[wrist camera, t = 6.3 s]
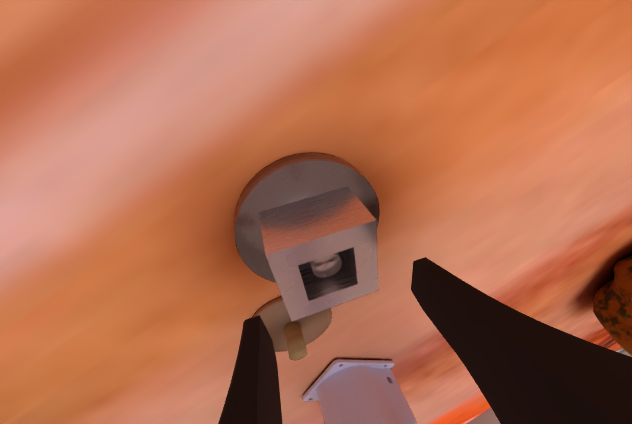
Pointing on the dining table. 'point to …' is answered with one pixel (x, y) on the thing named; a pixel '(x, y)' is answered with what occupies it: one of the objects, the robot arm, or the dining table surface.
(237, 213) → the hub
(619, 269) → the decorative pumpkin
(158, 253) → the dining table surface
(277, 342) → the stand
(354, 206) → the square tube sleeve
